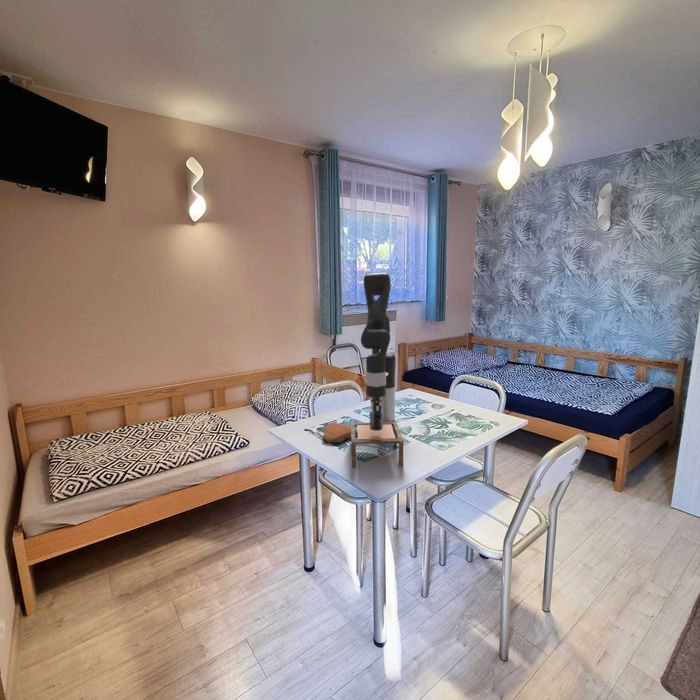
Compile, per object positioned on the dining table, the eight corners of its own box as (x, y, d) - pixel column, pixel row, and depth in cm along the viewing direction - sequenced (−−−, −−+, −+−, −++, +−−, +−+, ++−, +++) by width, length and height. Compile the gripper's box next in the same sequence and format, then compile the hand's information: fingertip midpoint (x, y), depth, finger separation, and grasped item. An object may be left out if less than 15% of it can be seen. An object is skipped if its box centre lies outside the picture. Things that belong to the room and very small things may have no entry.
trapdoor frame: (351, 445, 161) (350, 423, 159) (396, 444, 161) (396, 422, 159) (352, 467, 142) (351, 442, 140) (403, 466, 142) (403, 440, 141)
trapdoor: (356, 427, 157) (356, 424, 157) (391, 426, 157) (391, 423, 157) (358, 441, 143) (358, 439, 143) (395, 440, 143) (395, 438, 143)
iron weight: (369, 425, 148) (369, 411, 147) (381, 425, 148) (381, 410, 147) (370, 430, 144) (370, 415, 143) (383, 430, 144) (383, 415, 143)
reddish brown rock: (311, 426, 170) (335, 421, 181) (312, 440, 170) (335, 435, 181) (335, 430, 160) (359, 424, 171) (335, 445, 160) (359, 439, 171)
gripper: (364, 378, 150) (365, 419, 153) (366, 388, 136) (367, 433, 139) (384, 377, 150) (384, 419, 153) (388, 388, 136) (388, 433, 139)
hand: (376, 425), depth 146 cm, fingers closed on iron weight, 4 cm apart
